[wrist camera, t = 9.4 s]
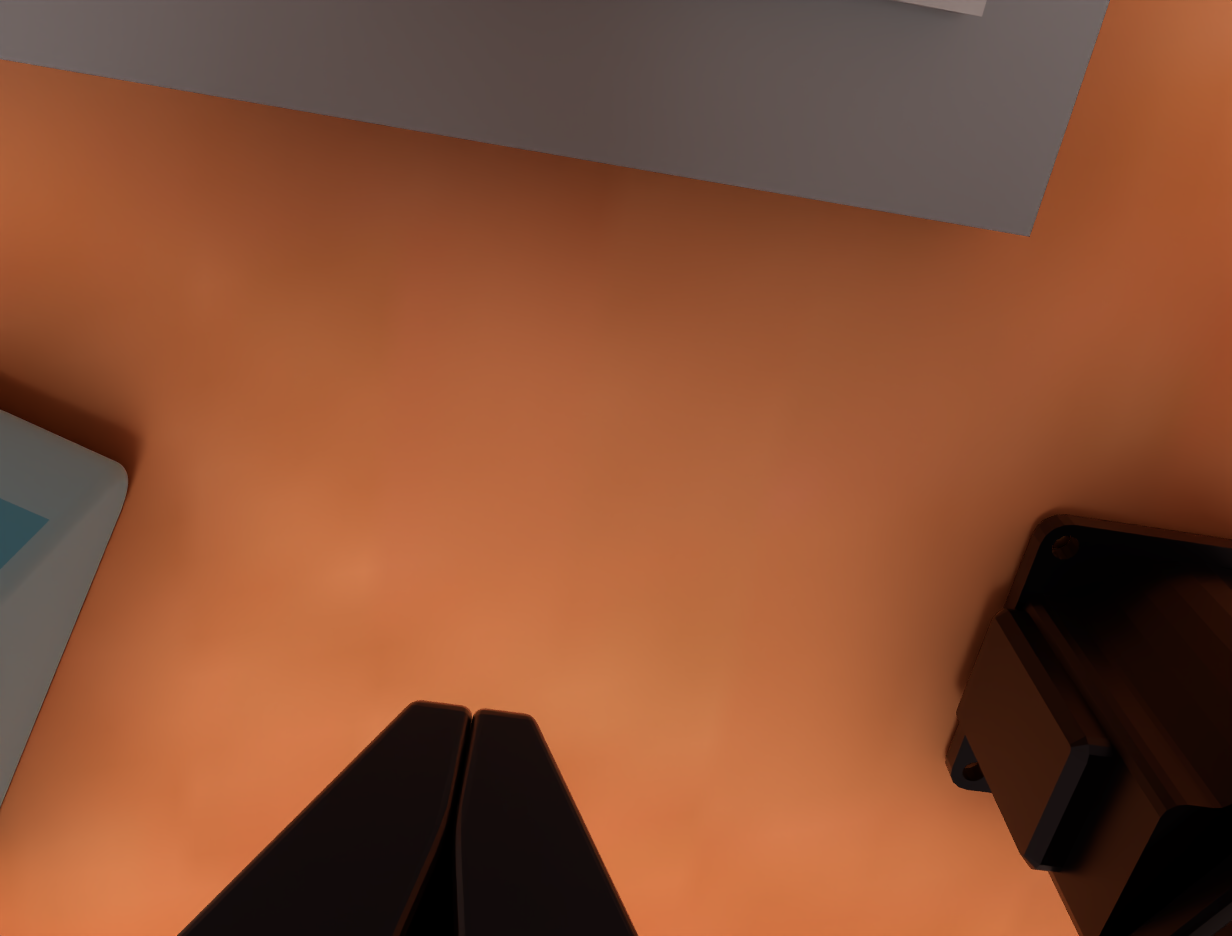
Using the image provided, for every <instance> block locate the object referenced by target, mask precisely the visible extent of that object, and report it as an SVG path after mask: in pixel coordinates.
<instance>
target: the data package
mask: <svg viewBox="0 0 1232 936" xmlns="http://www.w3.org/2000/svg"><path fill="white" fill-rule="evenodd" d="M127 488H128V475H127V472H126V470H125V469H124V467H123V466H122V465H121V464H120V463H118V462H116V461H114V460H112V459H109V458H107V457H105V456H103V455H101V454H98V453H96V452H94V451H92V450H89V449H87V448H85V447H83V446H81V445H78V444H76V443H74V442H72V441H70V440H67V439H65V438H63V437H61V436H58V435H56V434H54V433H52V432H50V431H47V430H45V429H43V428H41V427H39V426H36V425H34V424H32V423H30V422H28V421H25V420H23V419H21V418H19V417H16V416H14V415H12V414H10V413H8V412H5V411H3V410H1V409H0V807H1V804H2V802H3V799H4V797H5V794H6V792H7V789H8V787H9V785H10V782H11V780H12V777H13V775H14V772H15V770H16V767H17V765H18V762H19V760H20V757H21V755H22V753H23V750H24V748H25V745H26V743H27V740H28V738H29V735H30V733H31V730H32V728H33V726H34V723H35V721H36V718H37V716H38V713H39V711H40V708H41V706H42V703H43V701H44V699H45V696H46V694H47V691H48V689H49V686H50V684H51V681H52V679H53V676H54V674H55V672H56V669H57V667H58V664H59V662H60V659H61V657H62V654H63V652H64V649H65V647H66V644H67V642H68V640H69V637H70V635H71V632H72V630H73V627H74V625H75V622H76V620H77V617H78V615H79V613H80V610H81V608H82V605H83V603H84V600H85V598H86V595H87V593H88V590H89V588H90V586H91V583H92V581H93V578H94V576H95V573H96V571H97V568H98V566H99V563H100V561H101V559H102V556H103V554H104V551H105V549H106V546H107V544H108V541H109V539H110V536H111V534H112V531H113V529H114V527H115V524H116V522H117V519H118V517H119V514H120V512H121V509H122V506H123V503H124V501H125V497H126V493H127Z"/></svg>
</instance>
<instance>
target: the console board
mask: <svg viewBox="0 0 1232 936" xmlns="http://www.w3.org/2000/svg"><path fill="white" fill-rule="evenodd" d="M1109 1H1110V0H0V59H3V60H9V61H14V62H20V63H26V64H32V65H38V66H43V67H49V68H55V69H61V70H67V71H72V72H78V73H84V74H90V75H96V76H101V77H107V78H113V79H119V80H125V81H130V82H136V83H142V84H148V85H153V86H159V87H165V88H171V89H177V90H182V91H188V92H194V93H200V94H206V95H211V96H217V97H223V98H229V99H235V100H240V101H246V102H252V103H258V104H264V105H269V106H275V107H281V108H287V109H293V110H298V111H304V112H310V113H316V114H322V115H327V116H333V117H339V118H345V119H351V120H356V121H362V122H368V123H374V124H379V125H385V126H391V127H397V128H403V129H408V130H414V131H420V132H426V133H432V134H437V135H443V136H449V137H455V138H461V139H466V140H472V141H478V142H484V143H490V144H495V145H501V146H507V147H513V148H519V149H524V150H530V151H536V152H542V153H548V154H553V155H559V156H565V157H571V158H576V159H582V160H588V161H594V162H600V163H605V164H611V165H617V166H623V167H629V168H634V169H640V170H646V171H652V172H658V173H663V174H669V175H675V176H681V177H687V178H692V179H698V180H704V181H710V182H716V183H721V184H727V185H733V186H739V187H745V188H750V189H756V190H762V191H768V192H774V193H779V194H785V195H791V196H797V197H802V198H808V199H814V200H820V201H826V202H831V203H837V204H843V205H849V206H855V207H860V208H866V209H872V210H878V211H884V212H889V213H895V214H901V215H907V216H913V217H918V218H924V219H930V220H936V221H942V222H947V223H953V224H959V225H965V226H971V227H976V228H982V229H988V230H994V231H1000V232H1005V233H1011V234H1017V235H1023V236H1028V237H1030V234H1031V231H1032V228H1033V225H1034V222H1035V219H1036V216H1037V213H1038V210H1039V207H1040V204H1041V201H1042V199H1043V196H1044V193H1045V190H1046V187H1047V184H1048V181H1049V178H1050V175H1051V172H1052V169H1053V166H1054V163H1055V160H1056V157H1057V154H1058V151H1059V148H1060V146H1061V143H1062V140H1063V137H1064V134H1065V131H1066V128H1067V125H1068V122H1069V119H1070V116H1071V113H1072V110H1073V107H1074V104H1075V101H1076V98H1077V96H1078V93H1079V90H1080V87H1081V84H1082V81H1083V78H1084V75H1085V72H1086V69H1087V66H1088V63H1089V60H1090V57H1091V54H1092V51H1093V48H1094V46H1095V43H1096V40H1097V37H1098V34H1099V31H1100V28H1101V25H1102V22H1103V19H1104V16H1105V13H1106V10H1107V7H1108V4H1109Z"/></svg>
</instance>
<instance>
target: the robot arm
mask: <svg viewBox="0 0 1232 936" xmlns="http://www.w3.org/2000/svg"><path fill="white" fill-rule="evenodd" d="M1063 536H1071V539H1070V541H1069V542H1068V543H1067V545H1065V546H1063V547H1061V548H1058V549H1052V546H1053V544H1054V543H1055V542H1056V540H1058V539H1060V538H1061V537H1063ZM956 715H957V718H958V720H959V724H958V727H957V729H956V732H955V735H954V737H953V740H952V742H951V745H950V747H949V750H948V753H947V755H946V761H945V763H946V766H947V768H948V771H949V773H950V776H951V778H952V780H953V783H955V784H956V785H957V786H958V787H960V788H963V789H966V790H973V791H981V792H988V793H992V794H993V796H994V798H995V801H996V803H997V805H998V807H999V809H1000V811H1001V814H1002V816H1003V818H1004V820H1005V822H1006V824H1007V827H1008V829H1009V831H1010V833H1011V835H1012V837H1013V840H1014V842H1015V844H1016V846H1017V848H1018V850H1019V853H1020V854H1021V856H1022V857H1023V859H1024V860H1025V861H1026V863H1027V864H1028V865H1029V867H1030V868H1031V869H1035V870H1043V871H1048V872H1049V874H1050V876H1051V878H1052V881H1053V883H1054V885H1055V887H1056V889H1057V891H1058V893H1059V895H1060V897H1061V899H1062V901H1063V903H1064V905H1065V907H1066V910H1067V912H1068V914H1069V916H1070V918H1071V920H1072V922H1073V924H1074V926H1075V928H1076V930H1077V932H1078V934H1079V936H1232V540H1231V539H1224V538H1218V537H1211V536H1205V535H1198V534H1191V533H1185V532H1178V531H1172V530H1165V529H1158V528H1152V527H1145V526H1139V525H1132V524H1125V523H1119V522H1112V521H1106V520H1099V519H1092V518H1086V517H1079V516H1073V515H1055V516H1052V517H1049V518H1047V519H1045V520H1044V521H1043V522H1041V523H1040V524H1039V525H1038V526H1037V527H1036V529H1035V531H1034V532H1033V534H1032V536H1031V539H1030V542H1029V544H1028V547H1027V549H1026V552H1025V554H1024V557H1023V560H1022V562H1021V565H1020V567H1019V570H1018V572H1017V575H1016V578H1015V580H1014V583H1013V585H1012V588H1011V590H1010V593H1009V596H1008V598H1007V601H1006V603H1005V606H1004V609H1002V610H1000V611H999V612H998V613H997V614H996V615H995V616H994V617H993V618H992V620H991V623H990V625H989V628H988V630H987V633H986V636H985V638H984V641H983V643H982V646H981V649H980V651H979V654H978V656H977V659H976V662H975V664H974V667H973V669H972V672H971V675H970V677H969V680H968V682H967V685H966V688H965V690H964V693H963V695H962V698H961V701H960V703H959V706H958V708H957V712H956ZM471 721H472V723H471ZM975 762H978V764H977V765H975V766H974V767H972V768H965V767H966V765H968V764H970V763H975ZM177 936H638V934H637V932H636V930H635V928H634V926H633V923H632V921H631V919H630V917H629V915H628V913H627V911H626V909H625V907H624V905H623V902H622V900H621V898H620V896H619V894H618V892H617V890H616V888H615V886H614V884H613V881H612V879H611V877H610V875H609V873H608V871H607V869H606V867H605V865H604V863H603V860H602V858H601V856H600V854H599V852H598V850H597V848H596V846H595V844H594V842H593V839H592V837H591V835H590V833H589V831H588V829H587V827H586V825H585V823H584V821H583V818H582V816H581V814H580V812H579V810H578V808H577V806H576V804H575V802H574V800H573V797H572V795H571V793H570V791H569V789H568V787H567V785H566V783H565V781H564V779H563V776H562V774H561V772H560V770H559V768H558V766H557V764H556V762H555V760H554V758H553V755H552V753H551V751H550V749H549V747H548V745H547V743H546V741H545V739H544V736H543V734H542V732H541V730H540V728H539V726H538V724H537V722H536V721H535V719H534V718H533V717H532V716H530V715H528V714H524V713H516V712H508V711H501V710H493V709H480V710H478V711H476V713H475V714H474V715H473V718H472V714H471V712H470V710H469V709H468V708H467V707H465V706H462V705H454V704H447V703H439V702H431V701H424V700H419V701H415V702H412V703H410V704H409V705H408V706H407V707H406V708H405V709H404V710H403V711H402V712H401V713H400V714H399V715H398V716H397V717H396V718H395V719H394V720H393V721H392V722H391V723H390V724H389V725H388V726H387V727H386V728H385V729H384V730H383V731H382V732H381V733H380V734H379V735H378V736H377V737H376V738H375V739H374V740H373V741H372V742H371V743H370V744H369V745H368V746H367V747H366V748H365V749H364V750H363V751H362V752H361V753H360V754H359V755H358V756H357V757H356V758H355V759H354V760H353V761H352V762H351V763H350V764H349V765H348V766H347V767H346V768H345V769H344V770H343V771H342V772H341V773H340V774H339V775H338V776H337V777H336V778H335V779H334V780H333V781H332V782H331V783H330V784H329V785H328V786H327V787H326V788H325V789H324V790H323V791H322V792H321V793H320V794H319V795H318V796H317V797H316V798H315V799H314V800H313V801H312V802H311V803H310V804H309V805H308V806H307V807H306V808H305V809H304V810H303V811H302V812H301V813H300V814H299V815H298V816H297V817H296V818H295V819H294V820H293V821H292V822H291V823H290V824H289V825H288V826H287V827H286V828H285V829H284V830H283V831H282V832H281V833H280V834H279V835H278V836H277V837H276V838H275V839H274V840H273V841H271V842H270V843H269V844H268V845H267V846H266V847H265V848H264V849H263V850H262V851H261V852H260V853H259V854H258V855H257V856H256V857H255V858H254V859H253V860H252V861H251V862H250V863H249V864H248V865H247V866H246V867H245V868H244V869H243V870H242V871H241V872H240V873H239V874H238V875H237V876H236V877H235V878H234V879H233V880H232V881H231V882H230V883H229V884H228V885H227V886H226V887H225V888H224V889H223V890H222V891H221V892H220V893H219V894H218V895H217V896H216V897H215V898H214V899H213V900H212V901H211V902H210V903H209V904H208V905H207V906H206V907H205V908H204V909H203V910H202V911H201V912H200V913H199V914H198V915H197V916H196V917H195V918H194V919H193V920H192V921H191V922H190V923H189V924H188V925H187V926H186V927H185V928H184V929H183V930H182V931H181V932H180V933H179V934H178V935H177Z"/></svg>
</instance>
